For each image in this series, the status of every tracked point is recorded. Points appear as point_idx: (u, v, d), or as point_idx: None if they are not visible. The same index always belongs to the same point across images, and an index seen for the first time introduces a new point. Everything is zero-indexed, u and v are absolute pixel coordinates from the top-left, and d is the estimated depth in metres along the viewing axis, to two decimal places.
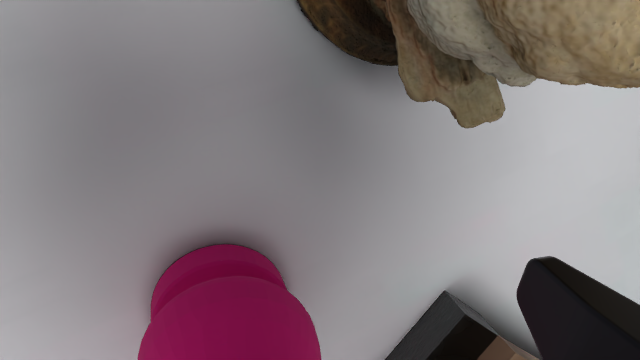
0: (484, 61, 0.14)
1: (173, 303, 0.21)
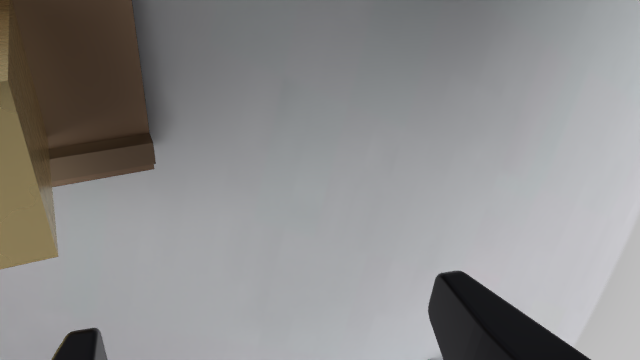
0: None
1: None
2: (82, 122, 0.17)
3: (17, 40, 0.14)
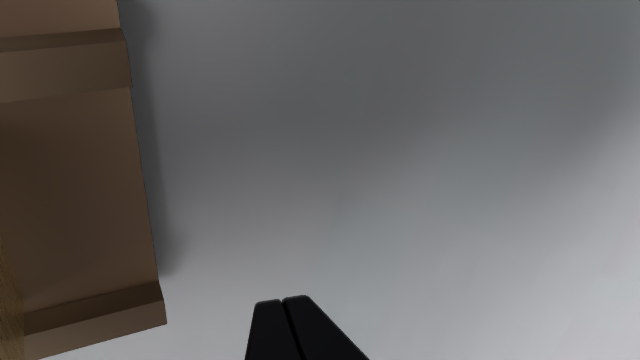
0: None
1: None
2: (62, 279, 0.12)
3: None
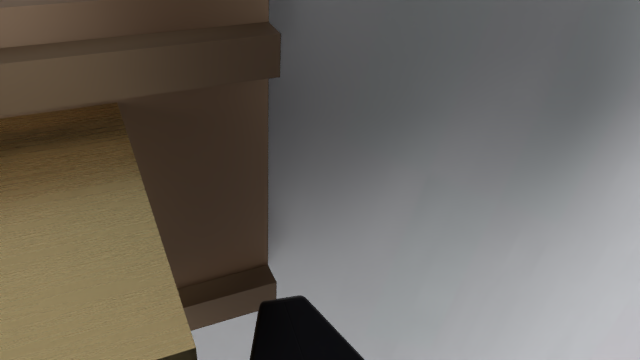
0: None
1: None
2: (186, 262, 0.12)
3: None
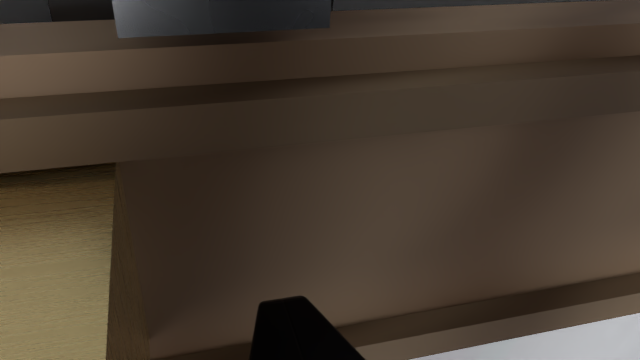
0: None
1: None
2: None
3: (122, 254, 0.08)
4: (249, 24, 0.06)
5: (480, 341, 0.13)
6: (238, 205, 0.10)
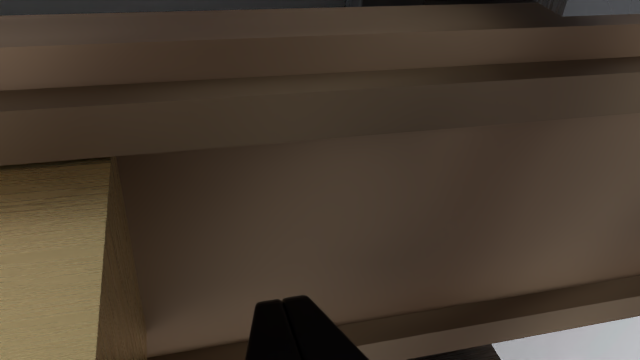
0: None
1: None
2: None
3: (116, 243, 0.08)
4: None
5: None
6: (522, 171, 0.11)
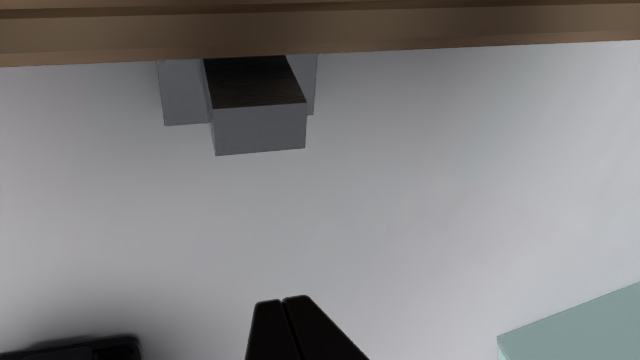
0: None
1: None
2: None
3: None
4: None
5: (461, 31, 0.15)
6: None
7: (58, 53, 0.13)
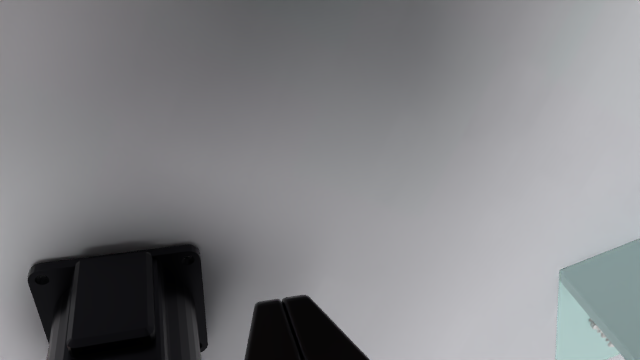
0: None
1: None
2: None
3: None
4: None
5: None
6: None
7: None
